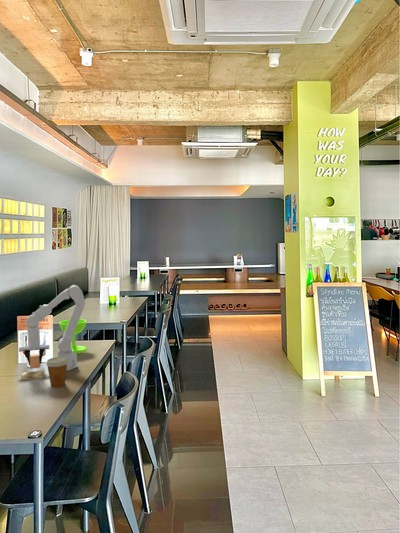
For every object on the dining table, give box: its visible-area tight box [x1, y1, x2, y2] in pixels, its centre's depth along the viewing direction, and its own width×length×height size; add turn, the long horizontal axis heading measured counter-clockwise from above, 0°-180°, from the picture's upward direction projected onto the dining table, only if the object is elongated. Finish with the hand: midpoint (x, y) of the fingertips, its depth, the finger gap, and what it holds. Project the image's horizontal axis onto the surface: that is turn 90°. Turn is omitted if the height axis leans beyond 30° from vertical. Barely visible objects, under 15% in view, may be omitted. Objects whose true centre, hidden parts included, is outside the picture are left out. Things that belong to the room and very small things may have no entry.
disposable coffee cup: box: [45, 356, 68, 388], centre depth 188 cm, size 10×10×12 cm
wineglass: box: [58, 318, 88, 354], centre depth 248 cm, size 16×16×18 cm
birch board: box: [20, 370, 45, 381], centre depth 201 cm, size 10×7×2 cm
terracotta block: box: [29, 353, 41, 369], centre depth 209 cm, size 4×4×6 cm
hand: (35, 363), depth 210 cm, fingers closed on terracotta block, 4 cm apart
